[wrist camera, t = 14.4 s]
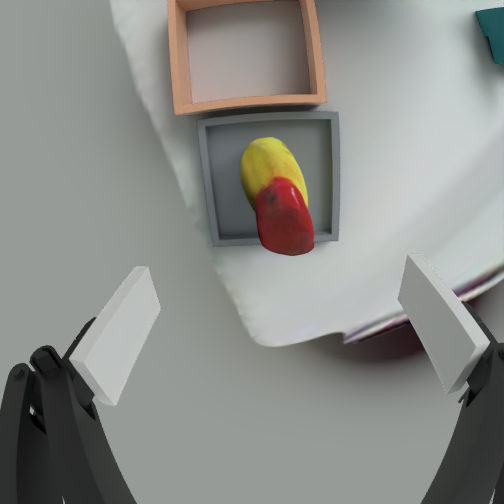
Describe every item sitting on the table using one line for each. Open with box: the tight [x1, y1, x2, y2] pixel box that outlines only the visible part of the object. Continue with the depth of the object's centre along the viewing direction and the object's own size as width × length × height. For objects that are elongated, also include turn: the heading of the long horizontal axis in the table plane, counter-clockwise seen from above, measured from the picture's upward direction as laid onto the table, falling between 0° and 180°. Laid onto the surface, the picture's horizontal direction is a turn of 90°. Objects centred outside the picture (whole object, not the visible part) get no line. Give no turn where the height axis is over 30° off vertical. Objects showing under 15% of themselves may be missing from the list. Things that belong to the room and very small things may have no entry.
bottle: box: [240, 137, 314, 256], centre depth 27 cm, size 12×6×20 cm, turn 18°
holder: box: [168, 0, 327, 116], centre depth 26 cm, size 18×18×5 cm
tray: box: [197, 111, 340, 247], centre depth 36 cm, size 18×18×2 cm
